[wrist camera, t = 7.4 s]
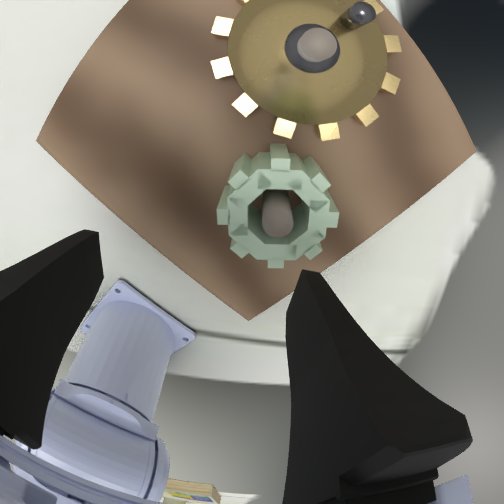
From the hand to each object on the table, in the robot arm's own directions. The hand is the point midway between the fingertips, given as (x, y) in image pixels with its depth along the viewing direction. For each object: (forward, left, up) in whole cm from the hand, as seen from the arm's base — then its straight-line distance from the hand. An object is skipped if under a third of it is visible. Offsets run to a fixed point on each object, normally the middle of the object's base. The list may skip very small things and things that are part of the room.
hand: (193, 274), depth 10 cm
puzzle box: (-85, -49, -9) cm, 99 cm away
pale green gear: (+2, -2, -8) cm, 8 cm away
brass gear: (+9, +3, -8) cm, 12 cm away
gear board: (+4, +2, -9) cm, 10 cm away
